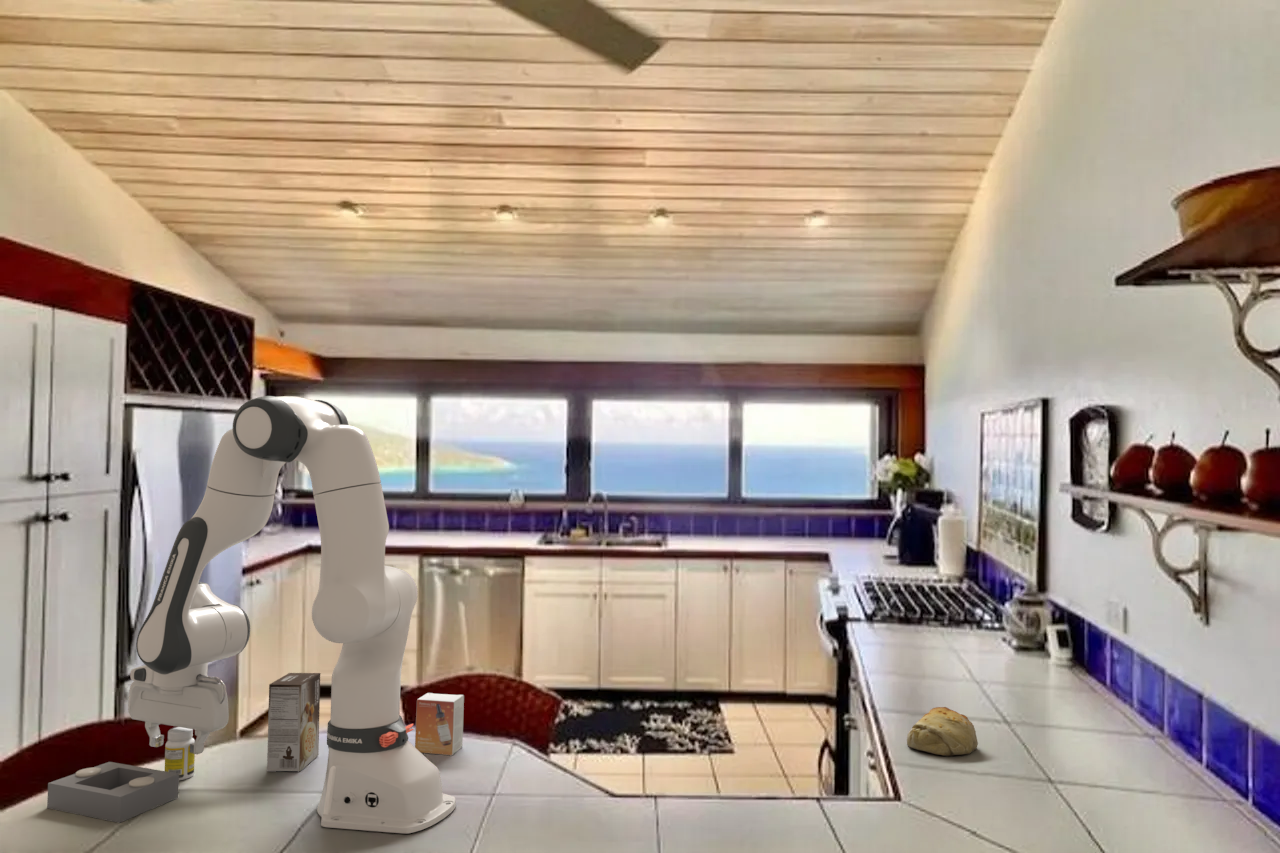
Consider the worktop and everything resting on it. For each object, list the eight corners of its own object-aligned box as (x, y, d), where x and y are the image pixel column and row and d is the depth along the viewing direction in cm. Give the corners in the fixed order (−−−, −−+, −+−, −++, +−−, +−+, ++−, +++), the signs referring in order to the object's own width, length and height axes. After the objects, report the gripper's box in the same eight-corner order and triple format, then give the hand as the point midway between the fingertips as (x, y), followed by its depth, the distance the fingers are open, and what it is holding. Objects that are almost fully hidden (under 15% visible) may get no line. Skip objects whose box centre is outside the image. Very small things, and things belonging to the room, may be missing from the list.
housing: (178, 797, 146) (179, 771, 147) (119, 822, 136) (120, 794, 136) (108, 784, 152) (109, 759, 152) (47, 807, 142) (48, 780, 142)
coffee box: (286, 755, 168) (289, 671, 169) (319, 755, 168) (321, 672, 169) (265, 772, 159) (268, 683, 160) (300, 772, 159) (302, 684, 160)
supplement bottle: (187, 770, 160) (188, 723, 160) (198, 776, 157) (200, 729, 157) (159, 777, 156) (161, 729, 156) (170, 783, 153) (172, 735, 153)
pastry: (973, 741, 183) (973, 703, 183) (983, 761, 171) (983, 720, 171) (903, 736, 186) (903, 698, 186) (908, 755, 174) (908, 715, 174)
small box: (414, 753, 171) (415, 699, 171) (425, 744, 176) (426, 691, 177) (452, 756, 169) (454, 701, 170) (463, 747, 175) (464, 694, 175)
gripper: (239, 674, 156) (235, 752, 156) (153, 662, 163) (149, 736, 163) (211, 682, 150) (207, 763, 150) (123, 669, 157) (119, 747, 157)
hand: (176, 749), depth 156 cm, fingers open, 8 cm apart
